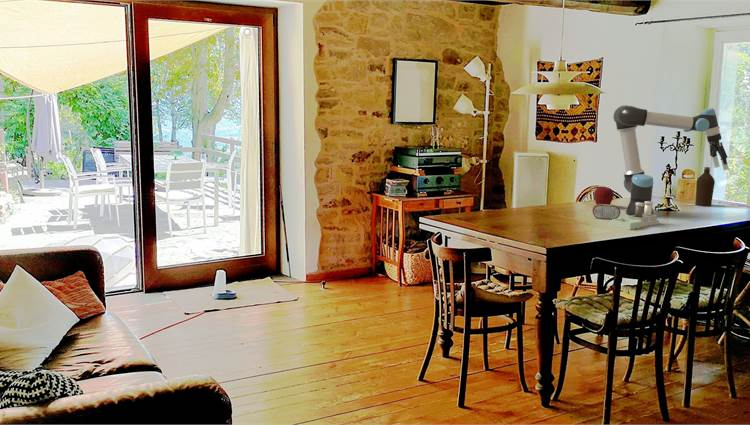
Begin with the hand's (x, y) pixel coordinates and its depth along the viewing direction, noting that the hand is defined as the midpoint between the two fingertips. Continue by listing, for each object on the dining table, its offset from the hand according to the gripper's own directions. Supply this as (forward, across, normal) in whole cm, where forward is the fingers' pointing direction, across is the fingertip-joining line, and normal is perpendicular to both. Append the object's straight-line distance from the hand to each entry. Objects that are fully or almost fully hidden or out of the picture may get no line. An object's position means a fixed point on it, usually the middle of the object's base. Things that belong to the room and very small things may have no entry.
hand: (721, 168), depth 408 cm
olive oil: (+28, +34, +5) cm, 44 cm away
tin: (+3, -32, +78) cm, 84 cm away
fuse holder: (+8, -43, +61) cm, 75 cm away
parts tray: (+5, -54, +72) cm, 91 cm away
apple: (+6, +12, +70) cm, 71 cm away
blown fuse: (+6, -46, +64) cm, 79 cm away
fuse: (+8, -40, +58) cm, 71 cm away
